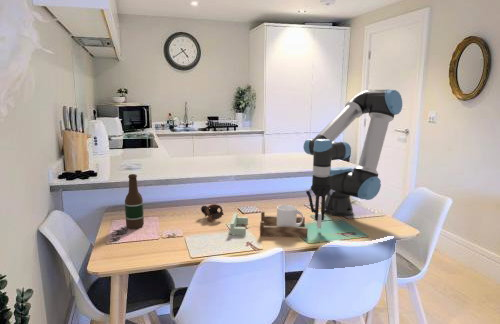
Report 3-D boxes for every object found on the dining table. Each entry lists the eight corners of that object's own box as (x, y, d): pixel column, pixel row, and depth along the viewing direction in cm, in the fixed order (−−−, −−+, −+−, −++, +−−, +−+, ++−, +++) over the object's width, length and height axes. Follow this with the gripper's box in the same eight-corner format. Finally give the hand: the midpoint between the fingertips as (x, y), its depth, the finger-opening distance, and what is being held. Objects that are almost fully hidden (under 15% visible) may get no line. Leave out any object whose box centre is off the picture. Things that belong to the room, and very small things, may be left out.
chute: (304, 225, 166) (304, 212, 165) (307, 237, 151) (307, 224, 150) (261, 223, 167) (261, 211, 166) (260, 235, 153) (260, 222, 152)
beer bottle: (127, 230, 157) (124, 177, 153) (124, 224, 164) (122, 173, 160) (145, 227, 161) (143, 175, 156) (142, 222, 168) (139, 172, 163)
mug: (306, 233, 156) (306, 209, 154) (279, 235, 154) (280, 211, 152) (299, 226, 165) (300, 203, 163) (274, 227, 162) (274, 205, 160)
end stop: (247, 223, 168) (247, 213, 167) (245, 235, 153) (245, 224, 152) (234, 222, 168) (234, 212, 167) (230, 234, 153) (230, 223, 153)
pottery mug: (226, 217, 178) (227, 205, 172) (217, 230, 171) (218, 219, 165) (204, 208, 180) (204, 197, 175) (195, 222, 173) (195, 210, 168)
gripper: (335, 173, 157) (332, 224, 161) (305, 173, 158) (303, 223, 162) (338, 177, 150) (335, 230, 154) (307, 176, 151) (304, 229, 155)
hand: (318, 227), depth 158 cm, fingers closed
